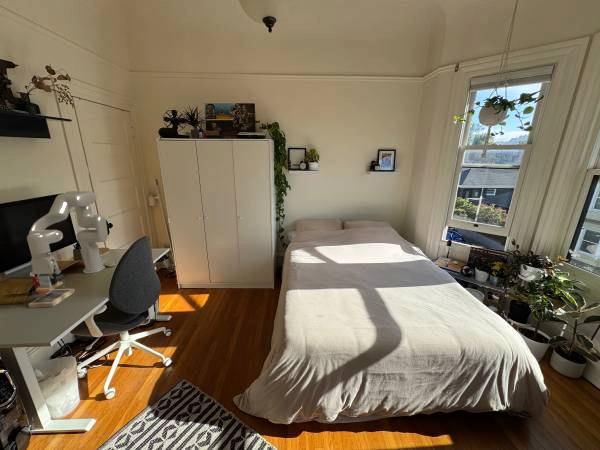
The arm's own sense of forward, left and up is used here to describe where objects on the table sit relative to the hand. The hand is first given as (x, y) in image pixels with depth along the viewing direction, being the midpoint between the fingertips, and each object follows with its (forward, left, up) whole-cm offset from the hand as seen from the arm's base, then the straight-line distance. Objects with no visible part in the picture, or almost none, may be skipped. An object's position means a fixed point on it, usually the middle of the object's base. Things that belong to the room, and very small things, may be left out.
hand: (49, 283), depth 141 cm
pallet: (0, 0, -3) cm, 3 cm away
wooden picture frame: (0, 0, -11) cm, 11 cm away
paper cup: (-10, -13, -11) cm, 20 cm away
